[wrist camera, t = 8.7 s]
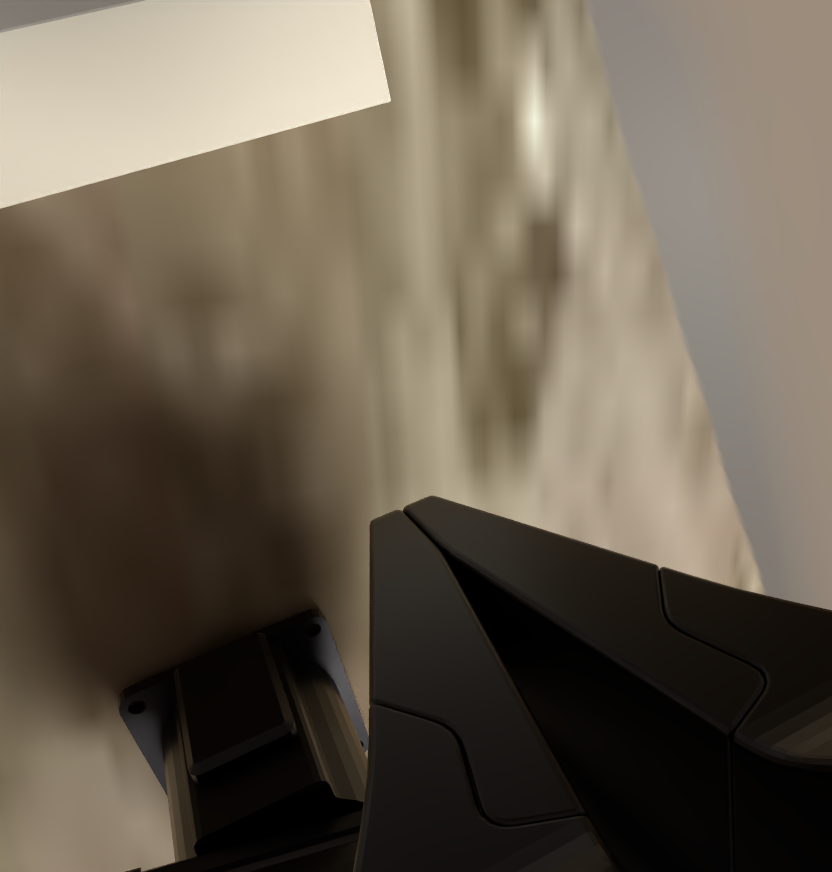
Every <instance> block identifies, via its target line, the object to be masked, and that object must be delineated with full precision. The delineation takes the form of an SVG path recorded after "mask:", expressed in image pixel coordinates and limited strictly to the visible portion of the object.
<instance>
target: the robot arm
mask: <svg viewBox="0 0 832 872" xmlns="http://www.w3.org/2000/svg"><path fill="white" fill-rule="evenodd" d="M313 623H316V626H315V627H313V628H312V629H306V627H307V626H309V625H310V624H313ZM137 700H141V701H143V702H142V703H140V704H138V705H131V704H130V703H132V702H133V701H137ZM118 704H119V712H120V715H121V717H122V719H123V721H124V722H125V724H126V726H127V727H128V729H129V731H130V733H131V734H132V736H133V738H134V739H135V741H136V743H137V745H138V746H139V748H140V750H141V751H142V753H143V755H144V757H145V758H146V760H147V762H148V763H149V765H150V767H151V769H152V770H153V772H154V774H155V775H156V777H157V779H158V781H159V782H160V784H161V786H162V787H163V789H164V791H165V793H166V794H167V796H168V803H169V811H170V820H171V828H172V837H173V845H174V854H175V862H174V863H171V864H167V865H163V866H160V867H156V868H153V869H149V870H146V871H142V872H832V610H828V609H823V608H819V607H814V606H810V605H805V604H800V603H796V602H791V601H787V600H783V599H779V598H775V597H771V596H766V595H762V594H758V593H754V592H750V591H746V590H741V589H737V588H734V587H730V586H727V585H723V584H720V583H716V582H713V581H709V580H706V579H702V578H699V577H695V576H692V575H689V574H685V573H682V572H679V571H676V570H672V569H669V568H666V567H662V568H660V570H659V568H658V566H657V565H656V564H652V563H649V562H646V561H643V560H639V559H636V558H633V557H630V556H627V555H623V554H620V553H617V552H614V551H610V550H607V549H604V548H601V547H598V546H594V545H591V544H588V543H585V542H581V541H578V540H575V539H572V538H569V537H565V536H562V535H559V534H556V533H552V532H549V531H546V530H543V529H540V528H536V527H533V526H530V525H527V524H523V523H520V522H517V521H514V520H510V519H507V518H504V517H501V516H498V515H494V514H491V513H488V512H485V511H481V510H478V509H475V508H472V507H469V506H465V505H462V504H459V503H456V502H452V501H449V500H446V499H443V498H440V497H436V496H428V497H426V498H424V499H421V500H419V501H417V502H414V503H412V504H409V505H407V506H405V507H404V509H403V511H401V510H395V511H393V512H390V513H388V514H385V515H383V516H381V517H378V518H376V519H374V520H372V521H371V523H370V635H369V704H370V708H369V737H368V734H367V731H366V728H365V726H364V723H363V720H362V717H361V714H360V712H359V709H358V706H357V703H356V701H355V698H354V695H353V692H352V689H351V687H350V684H349V681H348V678H347V676H346V673H345V670H344V667H343V664H342V662H341V659H340V656H339V653H338V650H337V648H336V645H335V642H334V639H333V637H332V634H331V631H330V628H329V625H328V623H327V621H326V618H325V616H324V615H323V613H322V612H321V611H319V610H315V609H310V610H306V611H304V612H301V613H299V614H297V615H294V616H292V617H290V618H287V619H285V620H283V621H280V622H278V623H276V624H273V625H271V626H269V627H266V628H264V629H262V630H259V631H257V632H255V633H253V634H250V635H248V636H246V637H243V638H241V639H239V640H236V641H234V642H232V643H229V644H227V645H225V646H222V647H220V648H218V649H215V650H213V651H211V652H208V653H206V654H204V655H202V656H199V657H197V658H195V659H192V660H190V661H188V662H185V663H183V664H181V665H178V666H176V667H174V668H171V669H169V670H167V671H164V672H162V673H160V674H157V675H155V676H153V677H151V678H148V679H146V680H144V681H141V682H139V683H137V684H134V685H132V686H130V687H128V688H126V689H125V690H124V691H123V692H122V693H121V694H120V696H119V700H118ZM367 750H368V759H367V757H366V754H365V752H366V751H367ZM126 872H141V868H137V869H133V870H130V871H126Z"/></svg>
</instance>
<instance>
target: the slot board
mask: <svg viewBox="0 0 832 872" xmlns="http://www.w3.org/2000/svg"><path fill="white" fill-rule="evenodd" d="M390 101H391V99H390V94H389V90H388V85H387V80H386V75H385V71H384V66H383V61H382V56H381V52H380V47H379V42H378V37H377V33H376V28H375V23H374V18H373V14H372V9H371V4H370V0H0V209H1V208H4V207H8V206H12V205H15V204H19V203H22V202H26V201H30V200H33V199H37V198H41V197H44V196H48V195H52V194H55V193H59V192H63V191H66V190H70V189H73V188H77V187H81V186H84V185H88V184H92V183H95V182H99V181H103V180H106V179H110V178H114V177H117V176H121V175H124V174H128V173H132V172H135V171H139V170H143V169H146V168H150V167H154V166H157V165H161V164H164V163H168V162H172V161H175V160H179V159H183V158H186V157H190V156H194V155H197V154H201V153H205V152H208V151H212V150H215V149H219V148H223V147H226V146H230V145H234V144H237V143H241V142H245V141H248V140H252V139H256V138H259V137H263V136H266V135H270V134H274V133H277V132H281V131H285V130H288V129H292V128H296V127H299V126H303V125H306V124H310V123H314V122H317V121H321V120H325V119H328V118H332V117H336V116H339V115H343V114H347V113H350V112H354V111H357V110H361V109H365V108H368V107H372V106H376V105H379V104H383V103H387V102H390Z"/></svg>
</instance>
